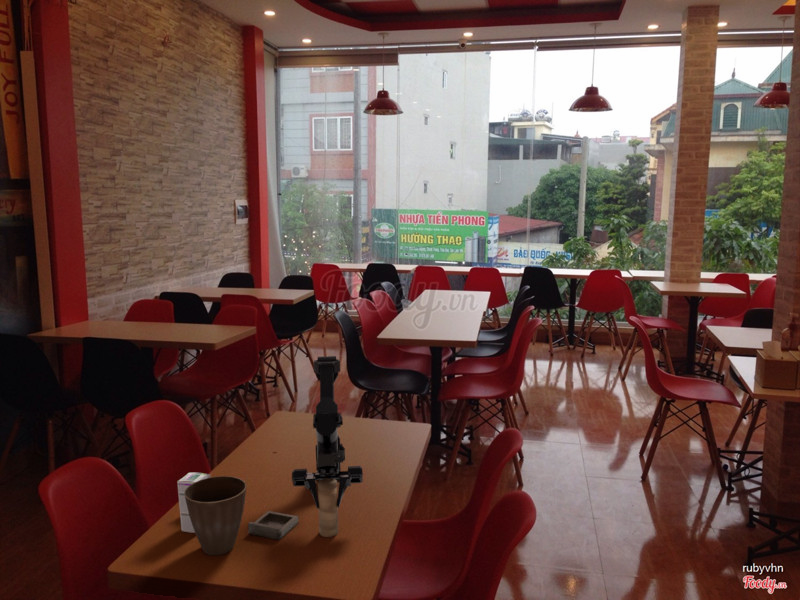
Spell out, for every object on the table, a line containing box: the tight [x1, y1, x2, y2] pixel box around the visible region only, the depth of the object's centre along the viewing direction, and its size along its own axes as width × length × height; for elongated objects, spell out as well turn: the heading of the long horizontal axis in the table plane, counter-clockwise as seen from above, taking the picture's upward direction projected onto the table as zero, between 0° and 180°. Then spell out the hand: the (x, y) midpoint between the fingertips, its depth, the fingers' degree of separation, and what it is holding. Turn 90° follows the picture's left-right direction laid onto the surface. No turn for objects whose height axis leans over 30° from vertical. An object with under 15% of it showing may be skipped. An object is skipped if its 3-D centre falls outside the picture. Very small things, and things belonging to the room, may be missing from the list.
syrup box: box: [177, 472, 208, 534], centre depth 168 cm, size 6×6×14 cm
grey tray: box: [247, 510, 299, 541], centre depth 168 cm, size 10×10×3 cm
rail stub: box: [317, 478, 339, 538], centre depth 165 cm, size 5×5×14 cm
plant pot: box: [184, 475, 247, 556], centre depth 158 cm, size 15×15×16 cm
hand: (327, 507), depth 163 cm, fingers closed on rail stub, 5 cm apart
